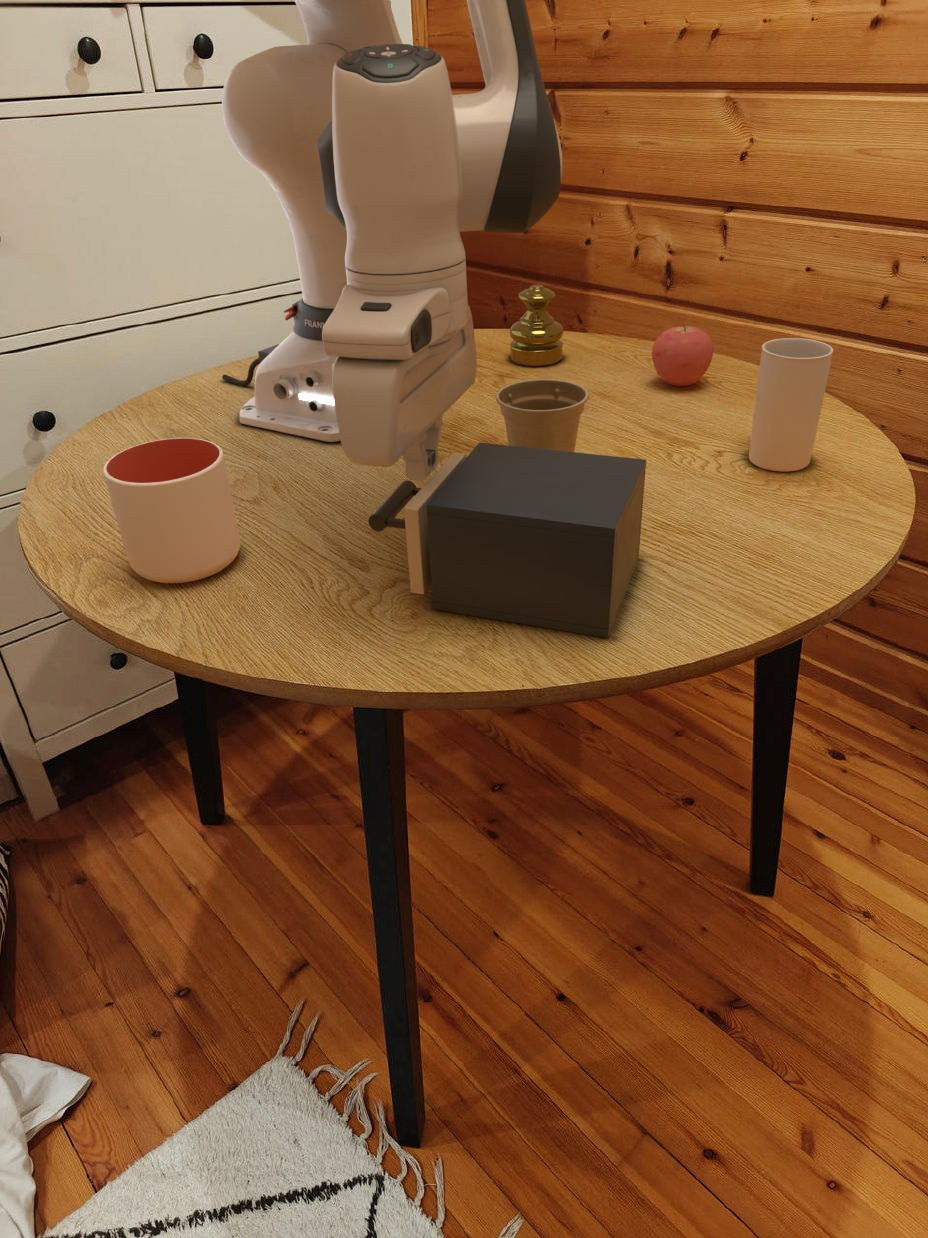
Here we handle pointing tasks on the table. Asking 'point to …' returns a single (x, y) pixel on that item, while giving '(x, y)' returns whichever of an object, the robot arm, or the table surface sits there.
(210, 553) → the cup
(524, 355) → the gold chess piece
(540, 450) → the cabinet
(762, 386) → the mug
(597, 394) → the table surface
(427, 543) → the drawer
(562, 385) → the flower pot
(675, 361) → the apple
